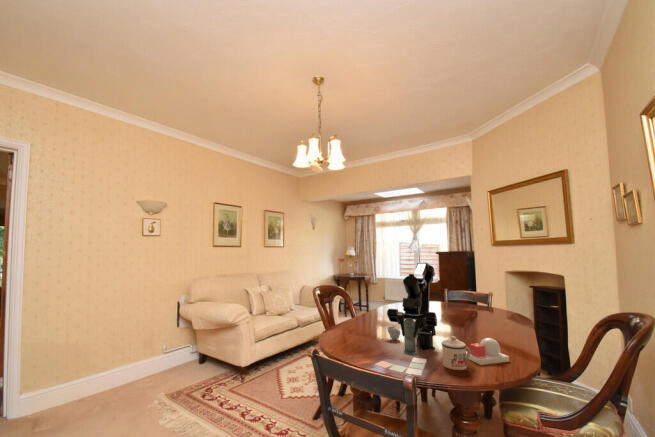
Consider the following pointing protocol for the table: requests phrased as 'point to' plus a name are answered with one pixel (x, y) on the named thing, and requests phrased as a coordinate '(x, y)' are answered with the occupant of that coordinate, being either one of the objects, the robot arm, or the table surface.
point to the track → (409, 370)
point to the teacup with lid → (455, 354)
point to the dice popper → (487, 352)
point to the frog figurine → (393, 332)
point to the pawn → (409, 337)
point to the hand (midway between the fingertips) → (408, 336)
